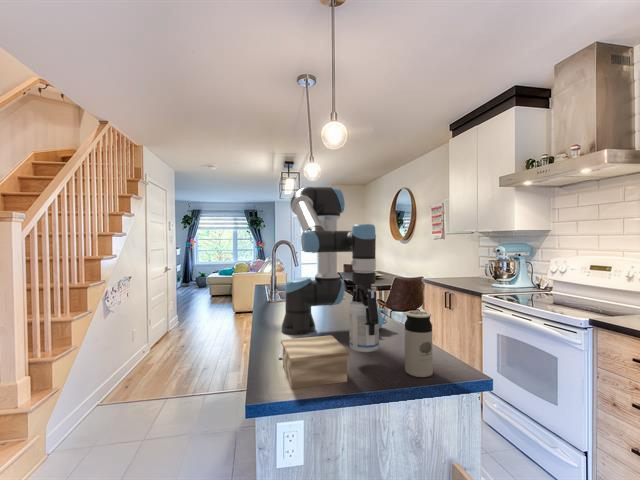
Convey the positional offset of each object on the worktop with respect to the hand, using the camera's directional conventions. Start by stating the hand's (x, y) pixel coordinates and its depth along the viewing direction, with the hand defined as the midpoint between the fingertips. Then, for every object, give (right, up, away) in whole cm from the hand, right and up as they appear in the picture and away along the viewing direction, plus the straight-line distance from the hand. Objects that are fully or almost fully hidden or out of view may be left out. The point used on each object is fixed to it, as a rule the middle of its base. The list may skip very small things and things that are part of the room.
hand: (363, 339), depth 105 cm
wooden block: (-16, -8, -8) cm, 20 cm away
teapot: (+8, -8, +41) cm, 42 cm away
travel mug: (+16, -8, -8) cm, 19 cm away
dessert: (-22, -9, +10) cm, 26 cm away
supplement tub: (0, -3, 0) cm, 3 cm away
